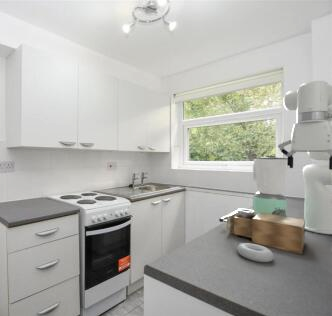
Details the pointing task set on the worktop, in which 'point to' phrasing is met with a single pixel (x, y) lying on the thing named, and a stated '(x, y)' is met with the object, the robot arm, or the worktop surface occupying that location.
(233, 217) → the drawer
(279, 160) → the juicer
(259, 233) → the cabinet
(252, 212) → the measuring cup
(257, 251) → the donut
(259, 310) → the worktop surface
